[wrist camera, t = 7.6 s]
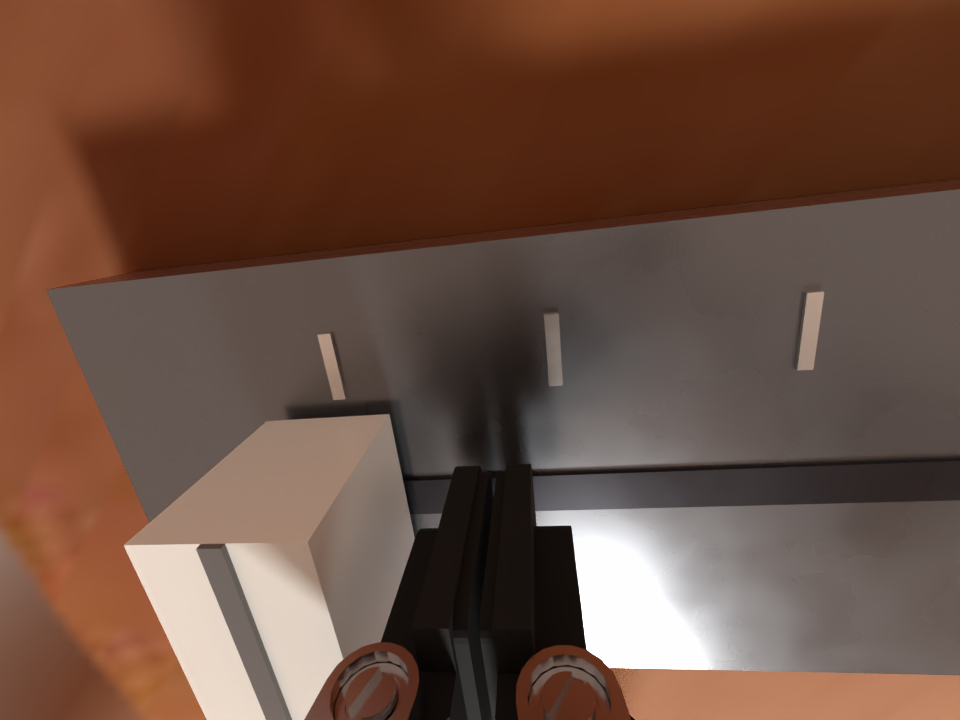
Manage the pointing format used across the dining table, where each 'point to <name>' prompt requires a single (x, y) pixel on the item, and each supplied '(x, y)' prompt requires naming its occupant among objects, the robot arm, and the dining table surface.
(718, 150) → the dining table surface
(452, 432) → the dimmer panel
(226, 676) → the fader
